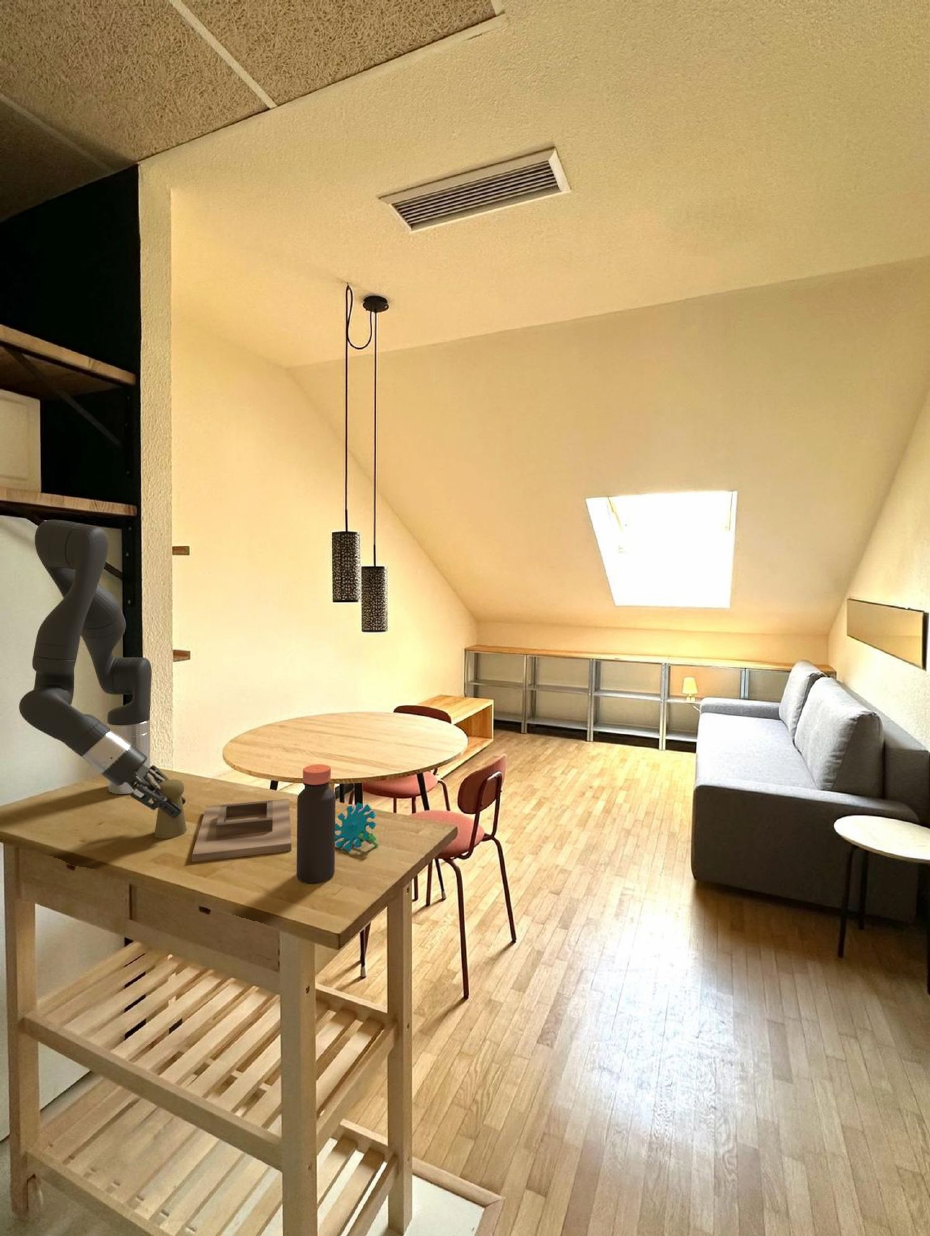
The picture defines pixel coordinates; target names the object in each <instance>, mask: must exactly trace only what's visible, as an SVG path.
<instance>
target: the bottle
mask: <svg viewBox="0 0 930 1236" xmlns="http://www.w3.org/2000/svg"><path fill="white" fill-rule="evenodd" d="M331 772H332V769H331V766H330V765H327V764H322V763H320V764H318V763H316V764H310V765H307V766H305V767H304V768H303V769H302V784H303V786H304V788H303V789H302V790H301V791H300V792H299V794H298V795H297V798H296V799H297V800H296V801H297V802H296V877H297V879H298V880H299V881H300V882H301V883H304V884H311V885H314V884H320V883H324V882H327V881H329V880H330V879H331V878H332V877H334V874H335V868H336V867H335V866H336V865H335V864H336V861H335V860H336V859H335V858H336V850H335V849H336V842H335V834H336V831H335V823H336V800H337V799H336V795H337V794H336V793H335V790H333V789H332V788H331V787H330V785H329V784H330V783H331V778H332V777H331V774H332V773H331Z"/></svg>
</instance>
